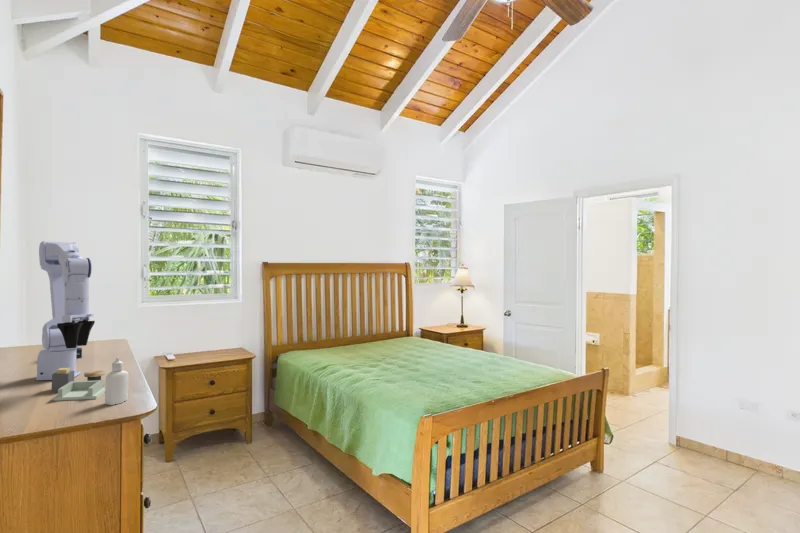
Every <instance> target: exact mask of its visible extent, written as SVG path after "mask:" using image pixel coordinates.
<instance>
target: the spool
mask: <svg viewBox="0 0 800 533" xmlns="http://www.w3.org/2000/svg"><path fill="white" fill-rule="evenodd" d="M102 376H105V371H104V370H89V371H86V372H84V373H83V377H85V378H86V381H98V380H102ZM104 386H105V382H104V381H103V387H104Z"/></svg>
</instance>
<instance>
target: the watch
mask: <svg viewBox="0 0 800 533" xmlns="http://www.w3.org/2000/svg"><path fill="white" fill-rule="evenodd" d="M82 356H83V349H82V347H78V348H77V351H76V359H82V358H83V357H82Z"/></svg>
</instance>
